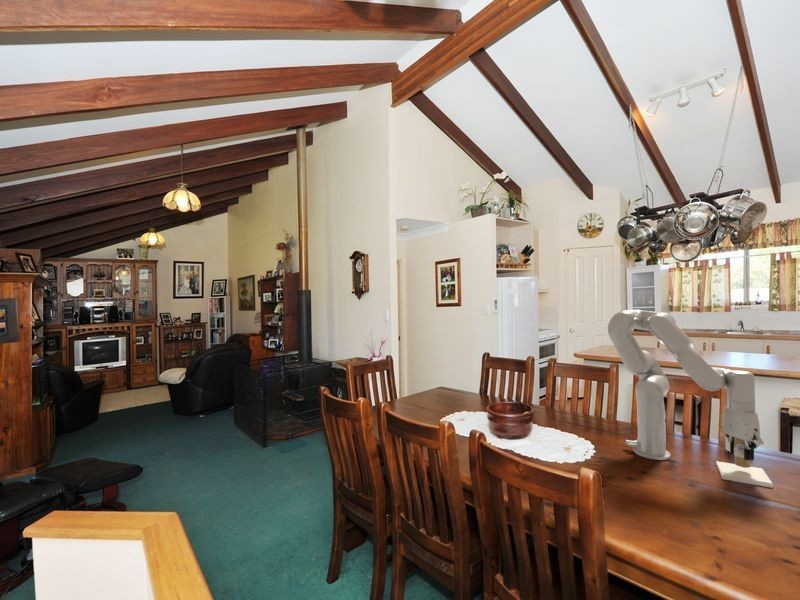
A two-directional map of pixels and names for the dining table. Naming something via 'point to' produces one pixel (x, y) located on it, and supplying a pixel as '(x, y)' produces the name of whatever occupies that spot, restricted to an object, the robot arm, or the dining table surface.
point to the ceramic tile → (744, 474)
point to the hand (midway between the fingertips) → (742, 456)
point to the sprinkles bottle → (740, 453)
